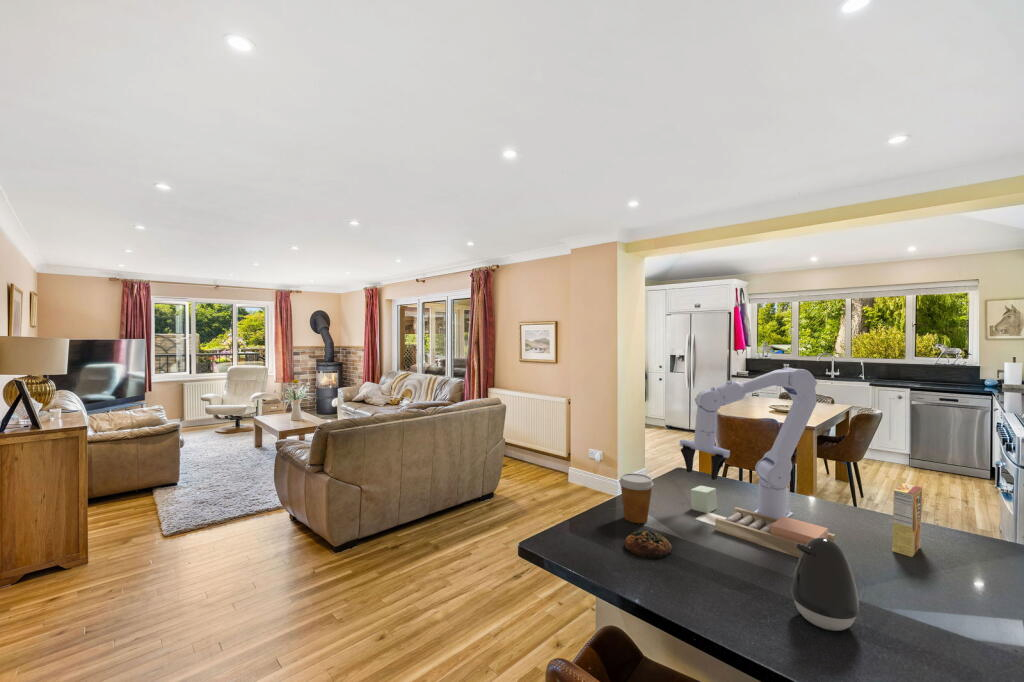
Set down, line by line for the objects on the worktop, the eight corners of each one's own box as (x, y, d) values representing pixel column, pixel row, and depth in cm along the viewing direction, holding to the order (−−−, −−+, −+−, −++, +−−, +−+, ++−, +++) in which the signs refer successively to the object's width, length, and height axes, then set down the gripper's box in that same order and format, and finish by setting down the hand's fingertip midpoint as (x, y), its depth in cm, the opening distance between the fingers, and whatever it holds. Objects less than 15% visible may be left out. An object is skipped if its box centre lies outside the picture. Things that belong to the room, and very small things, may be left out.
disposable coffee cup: (653, 515, 132) (654, 474, 132) (652, 528, 123) (653, 484, 123) (620, 511, 135) (620, 471, 135) (616, 523, 126) (617, 480, 126)
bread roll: (637, 561, 105) (637, 538, 105) (616, 546, 115) (616, 525, 116) (680, 559, 107) (680, 536, 107) (656, 544, 118) (656, 524, 118)
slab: (783, 525, 120) (783, 516, 120) (827, 538, 112) (828, 528, 112) (770, 535, 114) (770, 525, 114) (816, 549, 106) (816, 538, 106)
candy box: (899, 541, 116) (900, 482, 116) (921, 547, 113) (922, 486, 113) (891, 551, 111) (892, 489, 111) (914, 558, 108) (915, 494, 107)
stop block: (701, 504, 141) (700, 485, 141) (717, 508, 137) (716, 488, 138) (691, 509, 137) (690, 489, 137) (707, 513, 133) (706, 492, 134)
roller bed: (711, 510, 136) (712, 500, 136) (834, 547, 113) (835, 534, 113) (690, 522, 127) (690, 510, 127) (818, 564, 104) (819, 550, 104)
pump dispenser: (777, 606, 87) (778, 527, 87) (827, 604, 88) (829, 526, 88) (817, 641, 77) (818, 552, 77) (873, 638, 78) (875, 551, 78)
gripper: (676, 426, 138) (672, 470, 139) (724, 437, 128) (719, 484, 128) (687, 424, 143) (683, 467, 143) (734, 434, 132) (730, 480, 132)
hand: (701, 475), depth 136 cm, fingers open, 7 cm apart
